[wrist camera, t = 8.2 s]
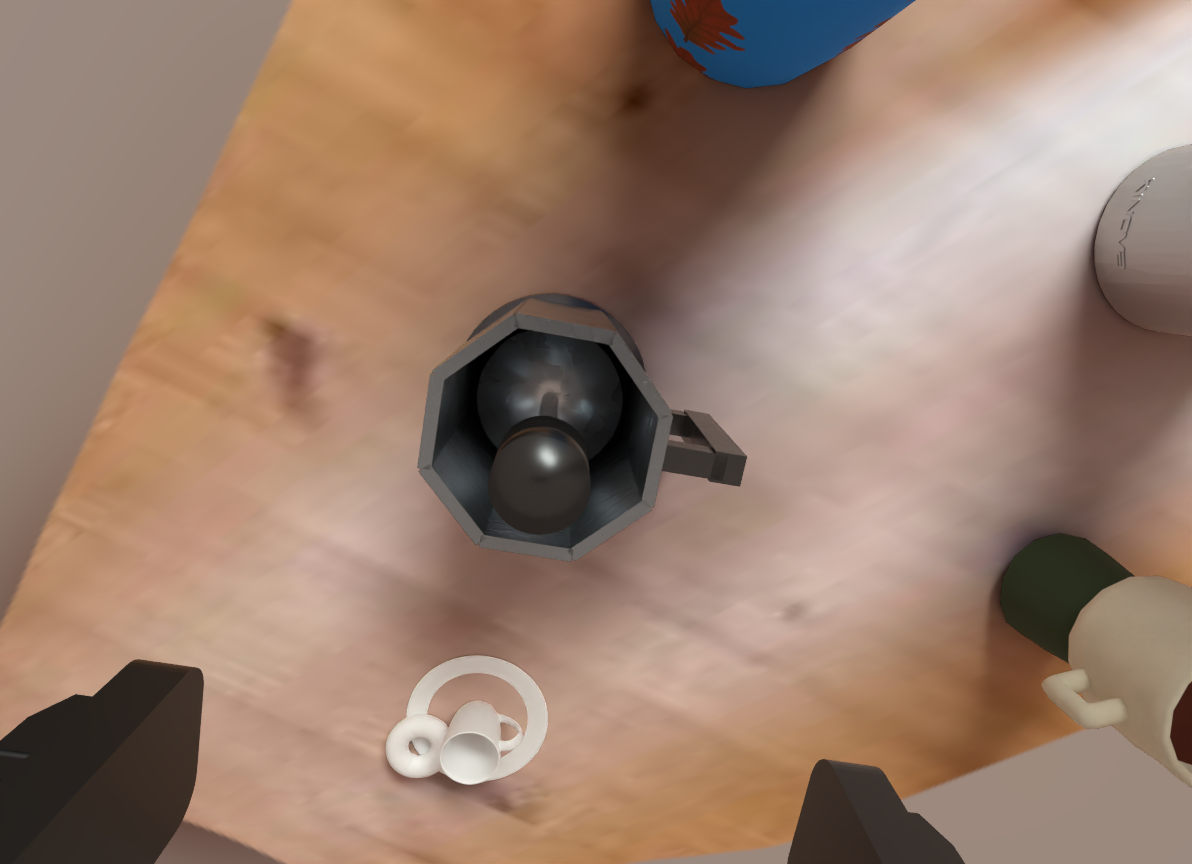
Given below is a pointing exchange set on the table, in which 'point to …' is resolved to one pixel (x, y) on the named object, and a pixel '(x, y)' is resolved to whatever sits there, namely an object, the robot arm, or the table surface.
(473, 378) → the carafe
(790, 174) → the table surface
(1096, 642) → the character mug
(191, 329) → the table surface
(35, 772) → the robot arm
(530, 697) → the teacup and saucer
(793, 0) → the thermos
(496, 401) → the plunger
